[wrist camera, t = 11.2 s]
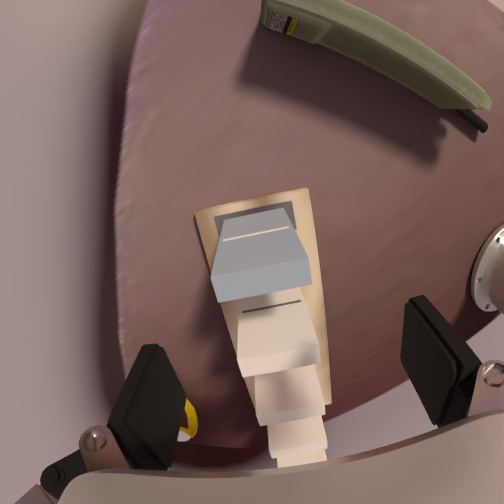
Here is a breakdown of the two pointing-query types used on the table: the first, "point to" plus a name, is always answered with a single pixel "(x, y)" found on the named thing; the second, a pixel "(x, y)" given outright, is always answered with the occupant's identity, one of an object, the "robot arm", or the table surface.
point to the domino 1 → (259, 256)
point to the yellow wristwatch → (189, 423)
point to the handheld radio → (379, 51)
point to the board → (303, 224)
